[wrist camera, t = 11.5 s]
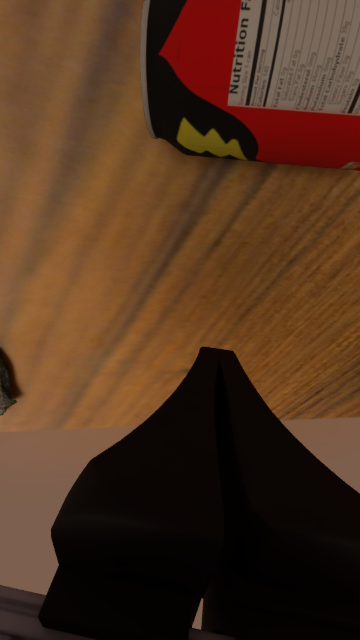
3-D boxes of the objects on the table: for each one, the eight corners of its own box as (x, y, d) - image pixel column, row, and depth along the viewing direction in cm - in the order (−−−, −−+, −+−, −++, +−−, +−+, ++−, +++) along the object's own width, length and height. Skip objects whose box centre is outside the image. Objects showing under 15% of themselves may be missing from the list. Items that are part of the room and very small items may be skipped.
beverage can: (426, 6, 12) (168, -6, 13) (566, -75, 7) (132, -85, 8) (360, 164, 16) (164, 147, 17) (421, 184, 11) (138, 158, 12)
